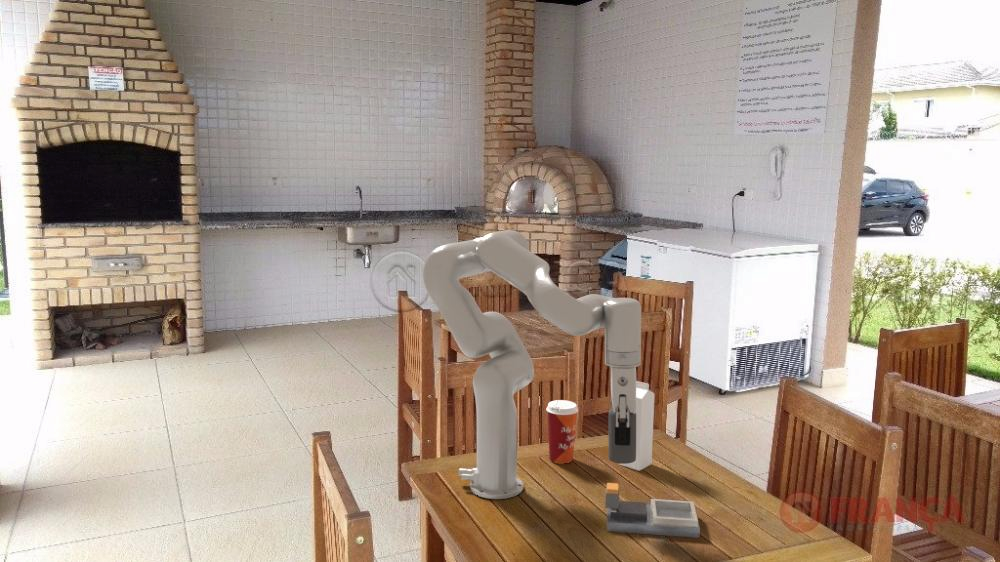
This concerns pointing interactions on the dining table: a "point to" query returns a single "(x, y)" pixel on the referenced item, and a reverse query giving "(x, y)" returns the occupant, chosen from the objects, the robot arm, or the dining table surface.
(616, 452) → the bottle
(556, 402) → the coffee cup
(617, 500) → the toggle
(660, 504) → the panel
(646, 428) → the milk
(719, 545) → the dining table surface
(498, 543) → the dining table surface
